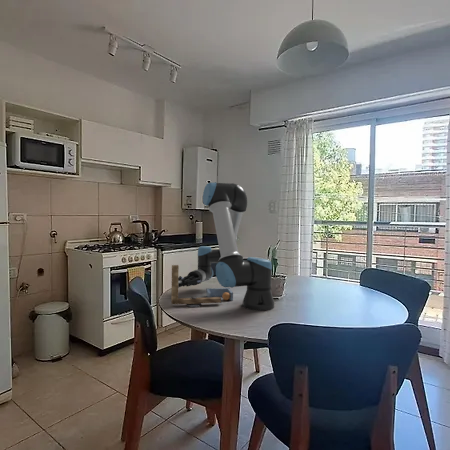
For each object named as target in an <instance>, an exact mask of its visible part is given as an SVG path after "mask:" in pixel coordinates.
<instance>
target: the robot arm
mask: <svg viewBox="0 0 450 450" xmlns="http://www.w3.org/2000/svg"><path fill="white" fill-rule="evenodd" d="M202 203H203V205H204V206H206V207H208V211H209V212H211V213H212V216H213V222H214V229H215V233H216V237H217V243H218V249H212V247H211V246H210V245H209V246H207V245H200V246H199V247H198V248H197V268H196V269H195V270H191V271H190V272H188V273H187V275H186V276H181V275H178V289H180V288H181V287H186V288H187V287H188V288H189V287H191V286H196V285H199V284H200V285H201V283H203V282H206V281H209V280H210V279H211V278H212V277H214V272H215V278H216V280H217V282H218V283H219V285H220V286H221V287H223V288H230V289H231V288H237V287H246V291H245V294H244V295H243V296H244V298H243V300H242V307H243V308H245V309H247V310H252V311H269V310H273V309H275V300H274V296H273V293H272V275H273V274H272V273H273V272H272V271H273V266H272V265H273V264H272V261H271V260H269V259H266V258H263V257H262V258H259V257H254V256H253V257H252V256H250V257H249V256H248V257H247V259H246V260H244V256H243V255H242V254H240V253H239V248H238V244H237V238H238V237H237V236H238V234H239V230H240V226H241V222H242V220H243V216H244V213H246V211H247V208H248V196H247V193H246V191H245V190H244V188H243V187H242V186H241V185H240V184H237V183H234V182H233V183H230V182H229V183H228V182H208V183H207V184H206V185H205V187H204V189H203V194H202ZM215 263H216V264H215ZM212 264H215V265H216V266H215V271H214V270H213V268H212Z"/></svg>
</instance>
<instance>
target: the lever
mask: <svg viewBox="0 0 450 450" xmlns="http://www.w3.org/2000/svg"><path fill="white" fill-rule="evenodd" d="M179 267H180V266H179V264H171V288H170V289H171V293H170V294H171V296H170V297H171V298H170V299H171V300H170V302H171V303H170V304H171V305H186V304H201V305H202V304H219V303H220V304H222V298H221V296H211V297H196V296H191V297H183V298H181V297H180V298H179V288H178V278H179Z"/></svg>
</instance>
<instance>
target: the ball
mask: <svg viewBox="0 0 450 450" xmlns="http://www.w3.org/2000/svg"><path fill="white" fill-rule="evenodd" d="M221 297H222V298H221V299H223V300H224V301H228V300H229V301H230V299H229V298H230V294H229V293H228V292H225V293H223V295H222V296H221Z"/></svg>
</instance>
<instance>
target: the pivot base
mask: <svg viewBox="0 0 450 450" xmlns="http://www.w3.org/2000/svg"><path fill="white" fill-rule="evenodd" d="M185 305H186V307H188V308H200V307H202V303H201V304H185Z"/></svg>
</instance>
